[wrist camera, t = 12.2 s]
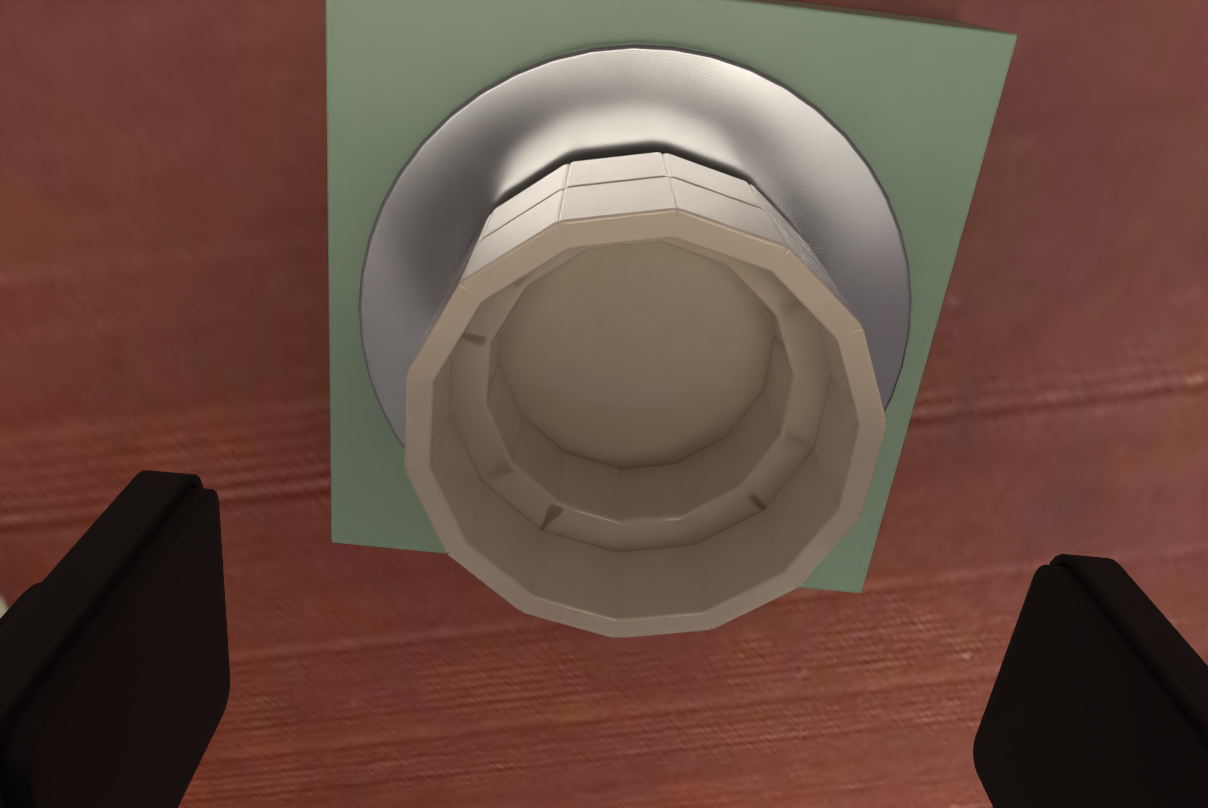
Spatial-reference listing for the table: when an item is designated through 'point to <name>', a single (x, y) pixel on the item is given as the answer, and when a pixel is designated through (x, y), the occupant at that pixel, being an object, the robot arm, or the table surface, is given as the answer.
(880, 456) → the scale
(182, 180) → the table surface
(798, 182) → the scale pan
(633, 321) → the bowl
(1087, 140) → the table surface
